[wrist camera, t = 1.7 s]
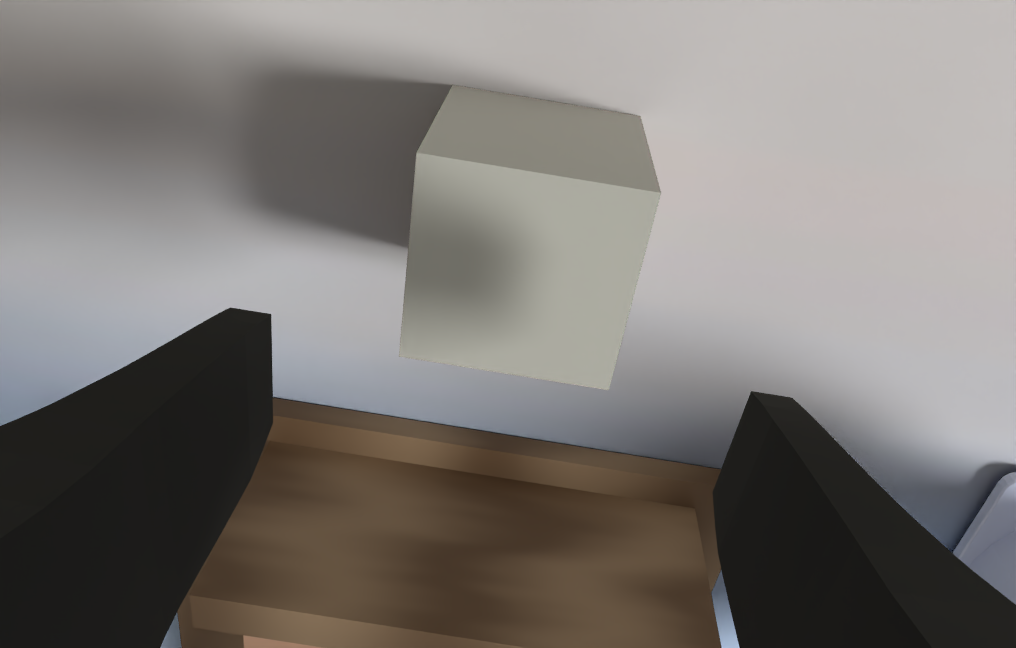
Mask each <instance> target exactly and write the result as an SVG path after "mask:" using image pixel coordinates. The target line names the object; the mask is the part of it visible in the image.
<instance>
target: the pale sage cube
mask: <svg viewBox="0 0 1016 648" xmlns="http://www.w3.org/2000/svg"><path fill="white" fill-rule="evenodd" d="M660 195H661V191H660V187H659V183H658V180H657V176H656V172H655V169H654V165H653V161H652V157H651V154H650V150H649V146H648V143H647V139H646V135H645V131H644V128H643V124H642V120H641V116H637V115H631V114H625V113H619V112H613V111H607V110H601V109H595V108H589V107H583V106H577V105H571V104H565V103H559V102H553V101H547V100H541V99H535V98H529V97H523V96H517V95H511V94H505V93H499V92H493V91H487V90H481V89H475V88H469V87H463V86H457V85H452V87H451V89H450V91H449V93H448V94H447V96H446V98H445V100H444V102H443V104H442V106H441V108H440V109H439V111H438V113H437V115H436V117H435V119H434V121H433V123H432V124H431V126H430V128H429V130H428V132H427V134H426V136H425V138H424V139H423V141H422V143H421V145H420V147H419V149H418V151H417V153H416V164H415V176H414V188H413V199H412V211H411V223H410V234H409V246H408V258H407V269H406V281H405V293H404V304H403V316H402V327H401V339H400V351H399V357H405V358H411V359H417V360H423V361H430V362H436V363H442V364H448V365H454V366H461V367H467V368H473V369H479V370H486V371H492V372H498V373H504V374H510V375H517V376H523V377H529V378H535V379H541V380H548V381H554V382H560V383H566V384H573V385H579V386H585V387H591V388H597V389H604V390H609V387H610V383H611V380H612V376H613V372H614V368H615V365H616V361H617V357H618V353H619V350H620V346H621V342H622V338H623V334H624V331H625V327H626V323H627V319H628V316H629V312H630V308H631V304H632V301H633V297H634V293H635V289H636V285H637V282H638V278H639V274H640V270H641V267H642V263H643V259H644V255H645V252H646V248H647V244H648V240H649V236H650V233H651V229H652V225H653V221H654V218H655V214H656V210H657V206H658V202H659V199H660Z"/></svg>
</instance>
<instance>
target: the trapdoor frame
mask: <svg viewBox="0 0 1016 648" xmlns="http://www.w3.org/2000/svg"><path fill="white" fill-rule="evenodd" d="M720 471H721V469H715V468H709V467H703V466H697V465H690V464H684V463H678V462H672V461H665V460H659V459H653V458H647V457H640V456H634V455H628V454H622V453H615V452H609V451H603V450H597V449H590V448H584V447H578V446H572V445H565V444H559V443H553V442H546V441H540V440H534V439H528V438H521V437H515V436H509V435H503V434H496V433H490V432H484V431H478V430H471V429H465V428H459V427H453V426H446V425H440V424H434V423H428V422H421V421H415V420H409V419H403V418H396V417H390V416H384V415H378V414H371V413H365V412H359V411H353V410H346V409H340V408H334V407H328V406H321V405H315V404H309V403H303V402H296V401H290V400H284V399H278V398H273V424H272V427H271V430H270V432H269V435H268V438H267V440H266V443H265V446H264V448H263V451H262V453H261V456H260V458H259V461H258V463H257V466H256V468H255V471H254V473H253V476H252V478H251V480H250V482H249V484H248V486H247V488H246V489H245V491H244V493H243V495H242V497H241V499H240V500H239V502H238V504H237V506H236V508H235V509H234V511H233V513H232V515H231V517H230V518H229V520H228V522H227V524H226V526H225V527H224V529H223V531H222V533H221V534H220V536H219V538H218V540H217V542H216V543H215V545H214V547H213V549H212V550H211V552H210V554H209V556H208V558H207V559H206V561H205V563H204V565H203V566H202V568H201V570H200V572H199V573H198V575H197V577H196V579H195V581H194V582H193V584H192V586H191V588H190V589H189V591H188V593H187V595H186V597H185V598H184V600H183V602H182V604H181V605H180V607H179V609H178V611H177V613H178V621H179V629H180V637H181V646H182V648H244V639H243V635H245V636H251V637H258V638H264V639H271V640H277V641H284V642H290V643H296V644H303V645H309V646H316V647H322V648H721V643H720V638H719V633H718V627H717V622H716V617H715V611H714V606H713V601H712V596H711V592H712V590H713V587H714V585H715V583H716V580H717V578H718V576H719V573H720V571H721V565H720V560H719V556H718V549H717V540H716V530H715V519H714V506H713V493H712V492H713V489H714V487H715V484H716V482H717V479H718V476H719V474H720Z"/></svg>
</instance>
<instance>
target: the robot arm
mask: <svg viewBox="0 0 1016 648" xmlns="http://www.w3.org/2000/svg"><path fill="white" fill-rule="evenodd" d="M272 424H273V387H272V335H271V314H267V313H261V312H254V311H248V310H242V309H236V308H229V309H227V310H225V311H223V312H221V313H219V314H217V315H215V316H213V317H211V318H210V319H208V320H206V321H204V322H203V323H201V324H199V325H197V326H196V327H194V328H192V329H190V330H189V331H187V332H185V333H184V334H182V335H180V336H178V337H177V338H175V339H173V340H171V341H170V342H168V343H166V344H164V345H163V346H161V347H159V348H157V349H156V350H154V351H152V352H150V353H148V354H147V355H145V356H143V357H141V358H140V359H138V360H136V361H134V362H132V363H131V364H129V365H127V366H125V367H123V368H122V369H120V370H118V371H116V372H114V373H112V374H110V375H108V376H106V377H104V378H102V379H100V380H98V381H96V382H94V383H92V384H90V385H88V386H86V387H84V388H82V389H80V390H78V391H76V392H74V393H72V394H70V395H68V396H66V397H64V398H62V399H60V400H58V401H57V402H54V403H52V404H50V405H48V406H46V407H44V408H41V409H39V410H37V411H35V412H33V413H30V414H28V415H26V416H23V417H21V418H19V419H17V420H14V421H12V422H9V423H7V424H4V425H2V426H0V648H160V646H161V644H162V642H163V640H164V637H165V635H166V633H167V631H168V629H169V627H170V625H171V623H172V621H173V619H174V617H175V615H176V613H177V611H178V609H179V607H180V605H181V604H182V602H183V600H184V598H185V597H186V595H187V593H188V591H189V589H190V588H191V586H192V584H193V582H194V581H195V579H196V577H197V575H198V573H199V572H200V570H201V568H202V566H203V565H204V563H205V561H206V559H207V558H208V556H209V554H210V552H211V550H212V549H213V547H214V545H215V543H216V542H217V540H218V538H219V536H220V534H221V533H222V531H223V529H224V527H225V526H226V524H227V522H228V520H229V518H230V517H231V515H232V513H233V511H234V509H235V508H236V506H237V504H238V502H239V500H240V499H241V497H242V495H243V493H244V491H245V489H246V488H247V486H248V484H249V482H250V480H251V478H252V476H253V473H254V471H255V468H256V466H257V463H258V461H259V458H260V456H261V453H262V451H263V448H264V446H265V443H266V440H267V438H268V435H269V432H270V430H271V427H272ZM712 493H713V506H714V519H715V530H716V540H717V549H718V556H719V560H720V565H721V570H722V574H723V578H724V583H725V587H726V592H727V596H728V600H729V605H730V609H731V613H732V617H733V621H734V626H735V630H736V634H737V638H738V642H739V647H740V648H1016V472H1012V473H1009V474H1007V475H1005V476H1003V477H1002V478H1001V479H1000V480H999V481H998V483H997V484H996V486H995V488H994V489H993V491H992V492H991V494H990V495H989V497H988V499H987V500H986V502H985V503H984V505H983V506H982V508H981V509H980V511H979V513H978V514H977V516H976V517H975V519H974V520H973V522H972V523H971V525H970V527H969V528H968V530H967V531H966V533H965V534H964V536H963V537H962V539H961V541H960V542H959V544H958V545H957V547H956V548H955V550H954V551H953V553H951V552H950V551H949V550H948V549H947V548H946V547H945V546H944V545H942V544H941V543H940V542H939V541H938V540H937V539H936V538H935V537H934V536H932V535H931V534H930V533H929V532H928V531H927V530H926V529H925V528H924V527H923V526H921V525H920V524H919V523H918V522H917V521H916V520H915V519H914V518H913V517H912V516H910V515H909V514H908V513H907V512H906V511H905V510H904V509H903V508H902V507H901V506H900V505H899V504H898V503H897V502H896V501H895V500H894V499H893V498H892V497H891V496H890V495H889V494H888V493H887V492H886V491H885V490H884V489H882V488H881V487H880V486H879V485H878V484H877V483H876V482H875V481H874V480H873V479H872V478H871V477H870V476H869V475H868V474H867V473H866V472H865V470H864V469H863V468H862V467H861V466H860V465H859V464H858V463H857V462H856V461H855V460H854V459H853V458H852V457H851V456H850V455H849V454H848V453H847V452H846V451H845V450H844V449H843V448H842V447H841V446H840V445H839V444H838V443H837V442H836V441H835V440H834V439H833V438H832V437H831V436H830V435H829V434H828V432H827V431H826V430H825V429H824V428H823V427H822V426H821V425H820V424H819V423H818V422H817V421H816V420H815V419H814V418H813V417H812V416H811V415H810V414H809V413H808V412H807V411H806V410H805V409H804V408H803V407H801V406H800V405H799V404H798V403H797V402H796V401H795V400H794V399H793V398H790V397H784V396H778V395H771V394H765V393H759V392H753V391H751V393H750V396H749V399H748V401H747V404H746V406H745V409H744V412H743V414H742V417H741V419H740V422H739V425H738V427H737V430H736V432H735V435H734V438H733V440H732V443H731V445H730V448H729V451H728V453H727V456H726V458H725V461H724V464H723V466H722V469H721V471H720V474H719V476H718V479H717V482H716V484H715V487H714V489H713V492H712Z"/></svg>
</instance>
